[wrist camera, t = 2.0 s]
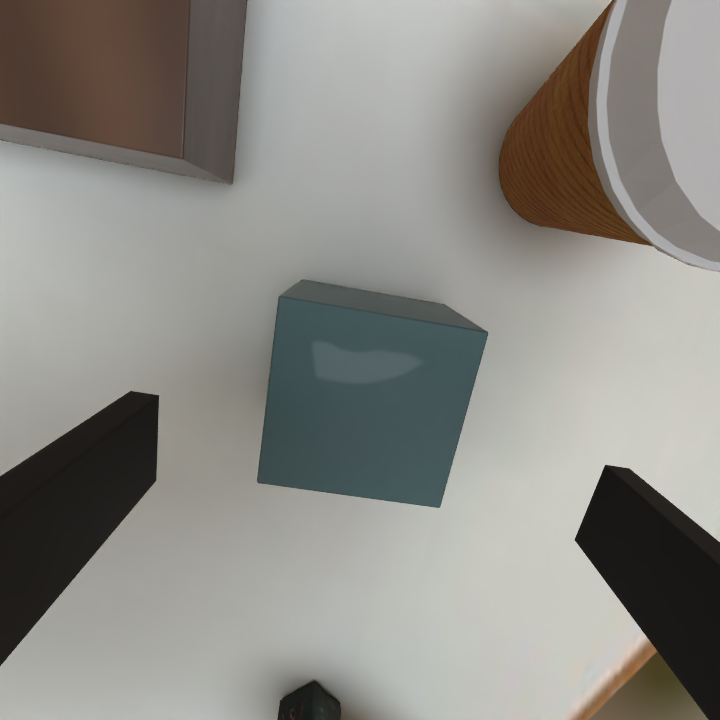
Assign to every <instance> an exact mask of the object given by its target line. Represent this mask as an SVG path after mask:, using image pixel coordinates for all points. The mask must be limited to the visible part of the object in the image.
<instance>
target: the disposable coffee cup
mask: <svg viewBox="0 0 720 720" xmlns="http://www.w3.org/2000/svg"><path fill="white" fill-rule="evenodd" d="M499 176H500V182H501V187H502V190H503V192H504V195H505V197H506V199H507V201H508V202H509V204H510V205H511V207H512V208H513V209H514V210H515V211H516V212H517V213H518V214H519V215H520V216H521V217H522V218H524V219H525V220H527V221H529V222H530V223H533V224H536V225H539V226H544V227H551V228H557V229H561V230H567V231H572V232H578V233H582V234H588V235H595V236H601V237H605V238H610V239H616V240H622V241H627V242H633V243H638V244H644V245H649V246H654V247H655V248H656V249H657V250H658V251H660V252H662V253H665V254H667V255H669V256H671V257H673V258H675V259H677V260H679V261H681V262H683V263H686V264H688V265H691V266H695V267H699V268H703V269H707V270H711V271H717V272H720V0H612V2H611V3H610V4H609V5H608V6H607V8H606V9H605V10H604V11H603V12H602V14H601V15H600V16H599V17H598V19H597V20H596V21H595V22H594V23H593V25H592V26H591V27H590V29H589V30H588V31H587V32H586V33H585V35H584V36H583V37H582V38H581V40H580V41H579V42H578V43H577V44H576V46H575V47H574V48H573V49H572V50H571V52H570V53H569V54H568V55H567V57H566V58H565V59H564V60H563V62H562V63H561V64H560V65H559V66H558V67H557V68H556V70H555V71H554V72H553V73H552V74H551V75H550V77H549V79H548V80H547V81H546V82H545V83H544V85H543V86H542V87H541V88H540V90H539V91H538V92H537V94H536V95H535V96H534V97H533V98H532V99H531V101H530V102H529V103H528V104H527V106H526V107H525V108H524V109H523V110H522V111H521V113H520V114H519V115H518V116H517V117H516V119H515V120H514V122H513V123H512V125H511V127H510V128H509V130H508V132H507V134H506V137H505V140H504V143H503V146H502V149H501V154H500V159H499Z"/></svg>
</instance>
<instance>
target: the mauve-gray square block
mask: <svg viewBox="0 0 720 720" xmlns="http://www.w3.org/2000/svg"><path fill="white" fill-rule="evenodd" d="M246 4H247V0H0V140H3V141H8V142H13V143H18V144H24V145H29V146H34V147H39V148H44V149H49V150H55V151H60V152H65V153H70V154H75V155H81V156H86V157H91V158H96V159H101V160H107V161H112V162H117V163H122V164H127V165H133V166H138V167H143V168H148V169H153V170H158V171H164V172H169V173H174V174H179V175H184V176H190V177H195V178H200V179H205V180H210V181H216V182H221V183H226V184H232V183H233V171H234V158H235V145H236V132H237V120H238V107H239V94H240V81H241V68H242V55H243V42H244V30H245V17H246Z"/></svg>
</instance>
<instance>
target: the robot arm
mask: <svg viewBox="0 0 720 720" xmlns="http://www.w3.org/2000/svg"><path fill="white" fill-rule="evenodd" d="M158 408H159V395H153V394H146V393H140V392H134V391H130V392H128V393H127V394H125V395H124V396H122V397H121V398H119V399H118V400H116V401H115V402H113V403H112V404H110V405H109V406H107V407H106V408H104V409H103V410H101V411H99V412H98V413H96V414H95V415H93V416H92V417H90V418H89V419H87V420H86V421H84V422H83V423H81V424H80V425H78V426H77V427H75V428H74V429H72V430H70V431H69V432H67V433H66V434H64V435H63V436H61V437H60V438H58V439H57V440H55V441H54V442H52V443H51V444H49V445H48V446H46V447H45V448H43V449H41V450H40V451H38V452H37V453H35V454H34V455H32V456H31V457H29V458H28V459H26V460H25V461H23V462H22V463H20V464H19V465H17V466H16V467H14V468H12V469H11V470H9V471H8V472H6V473H5V474H3V475H2V476H0V666H1V664H2V663H3V662H4V661H5V660H6V659H7V657H8V656H9V655H10V654H11V653H12V651H13V650H14V649H15V648H16V647H17V645H18V644H19V643H20V642H21V641H22V639H23V638H24V637H25V636H26V635H27V634H28V632H29V631H30V630H31V629H32V628H33V626H34V625H35V624H36V623H37V622H38V620H39V619H40V618H41V617H42V616H43V615H44V613H45V612H46V611H47V610H48V609H49V607H50V606H51V605H52V604H53V603H54V601H55V600H56V599H57V598H58V597H59V595H60V594H61V593H62V592H63V591H64V590H65V588H66V587H67V586H68V585H69V584H70V582H71V581H72V580H73V579H74V578H75V576H76V575H77V574H78V573H79V572H80V570H81V569H82V568H83V567H84V566H85V565H86V563H87V562H88V561H89V560H90V559H91V557H92V556H93V555H94V554H95V553H96V551H97V550H98V549H99V548H100V547H101V546H102V544H103V543H104V542H105V541H106V540H107V538H108V537H109V536H110V535H111V534H112V532H113V531H114V530H115V529H116V528H117V526H118V525H119V524H120V523H121V522H122V521H123V519H124V518H125V517H126V516H127V515H128V513H129V512H130V511H131V510H132V509H133V507H134V506H135V505H136V504H137V503H138V501H139V500H140V499H141V498H142V497H143V496H144V494H145V493H146V492H147V491H148V490H149V488H150V487H151V486H152V485H153V484H154V482H155V481H156V471H157V439H158ZM575 541H576V542H577V544H578V545H579V546H580V548H581V549H582V550H583V552H584V553H585V554H586V556H587V557H588V558H589V560H590V561H591V562H592V564H593V565H594V566H595V568H596V569H597V570H598V572H599V573H600V574H601V576H602V577H603V578H604V580H605V581H606V583H607V584H608V585H609V587H610V588H611V589H612V591H613V592H614V593H615V595H616V596H617V597H618V599H619V600H620V601H621V603H622V604H623V605H624V607H625V608H626V609H627V611H628V612H629V613H630V615H631V616H632V617H633V619H634V620H635V621H636V623H637V624H638V625H639V627H640V628H641V630H642V631H643V632H644V634H645V635H646V636H647V638H648V639H649V640H650V642H651V643H652V644H653V646H654V647H655V648H656V650H657V651H658V652H659V654H660V655H661V656H662V658H663V659H664V660H665V662H666V663H667V664H668V666H669V667H670V668H671V670H672V671H673V672H674V674H675V675H676V677H677V678H678V679H679V680H680V682H681V683H682V685H683V686H684V687H685V688H686V690H687V691H688V693H689V694H690V695H691V696H692V698H693V699H694V701H695V702H696V703H697V705H698V706H699V707H700V709H701V710H702V711H703V713H704V714H705V715H706V717H707V718H708V719H709V720H720V542H719V541H717V540H716V539H715V538H714V537H712V536H711V535H710V534H709V533H708V532H706V531H705V530H704V529H703V528H701V527H700V526H699V525H698V524H697V523H695V522H694V521H693V520H692V519H690V518H689V517H688V516H687V515H686V514H684V513H683V512H682V511H681V510H679V509H678V508H677V507H676V506H674V505H673V504H672V503H671V502H670V501H668V500H667V499H666V498H665V497H663V496H662V495H661V494H660V493H659V492H657V491H656V490H655V489H654V488H652V487H651V486H650V485H649V484H648V483H646V482H645V481H644V480H643V479H641V478H640V477H639V476H638V475H637V474H635V473H634V472H633V471H632V470H630V469H628V468H622V467H615V466H609V465H605V467H604V469H603V472H602V474H601V477H600V479H599V482H598V484H597V486H596V489H595V491H594V494H593V496H592V499H591V501H590V504H589V506H588V508H587V511H586V513H585V516H584V518H583V521H582V523H581V526H580V528H579V531H578V533H577V535H576V538H575Z"/></svg>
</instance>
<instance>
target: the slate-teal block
mask: <svg viewBox="0 0 720 720" xmlns="http://www.w3.org/2000/svg"><path fill="white" fill-rule="evenodd" d="M487 336H488V332H487V331H485V330H484V329H482V328H481V327H479V326H477V325H476V324H474V323H473V322H471V321H470V320H468V319H466V318H465V317H463V316H462V315H460V314H459V313H457V312H455V311H454V310H452V309H451V308H449V307H448V306H446V305H444V304H438V303H433V302H427V301H421V300H416V299H410V298H404V297H399V296H393V295H388V294H382V293H376V292H371V291H365V290H359V289H354V288H348V287H342V286H337V285H331V284H325V283H320V282H314V281H309V280H301V281H300V282H298V283H297V284H295V285H294V286H293V287H291V288H290V289H289V290H287V291H286V292H284V293H283V294H282V295H280V296H279V298H278V307H277V315H276V324H275V332H274V341H273V349H272V358H271V366H270V375H269V383H268V392H267V400H266V409H265V417H264V426H263V434H262V443H261V451H260V460H259V468H258V477H257V482H258V483H262V484H269V485H276V486H283V487H291V488H298V489H305V490H313V491H320V492H327V493H334V494H342V495H349V496H356V497H364V498H371V499H378V500H385V501H393V502H400V503H407V504H415V505H422V506H429V507H436V508H440V505H441V502H442V498H443V495H444V491H445V487H446V484H447V480H448V477H449V473H450V469H451V466H452V462H453V459H454V455H455V451H456V448H457V444H458V441H459V437H460V433H461V430H462V426H463V423H464V419H465V415H466V412H467V408H468V405H469V401H470V397H471V394H472V390H473V387H474V383H475V379H476V376H477V372H478V369H479V365H480V361H481V358H482V354H483V351H484V347H485V343H486V340H487Z"/></svg>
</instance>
